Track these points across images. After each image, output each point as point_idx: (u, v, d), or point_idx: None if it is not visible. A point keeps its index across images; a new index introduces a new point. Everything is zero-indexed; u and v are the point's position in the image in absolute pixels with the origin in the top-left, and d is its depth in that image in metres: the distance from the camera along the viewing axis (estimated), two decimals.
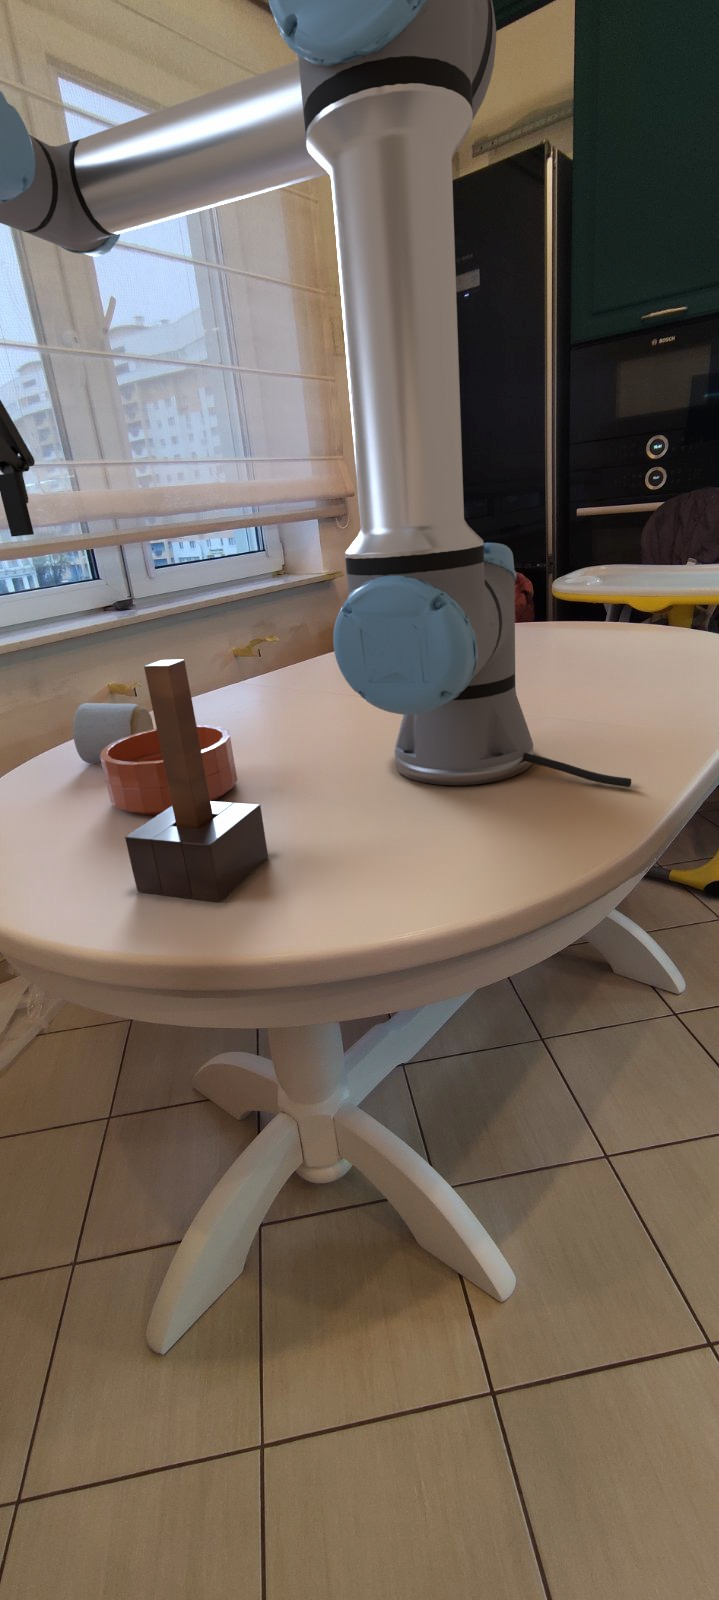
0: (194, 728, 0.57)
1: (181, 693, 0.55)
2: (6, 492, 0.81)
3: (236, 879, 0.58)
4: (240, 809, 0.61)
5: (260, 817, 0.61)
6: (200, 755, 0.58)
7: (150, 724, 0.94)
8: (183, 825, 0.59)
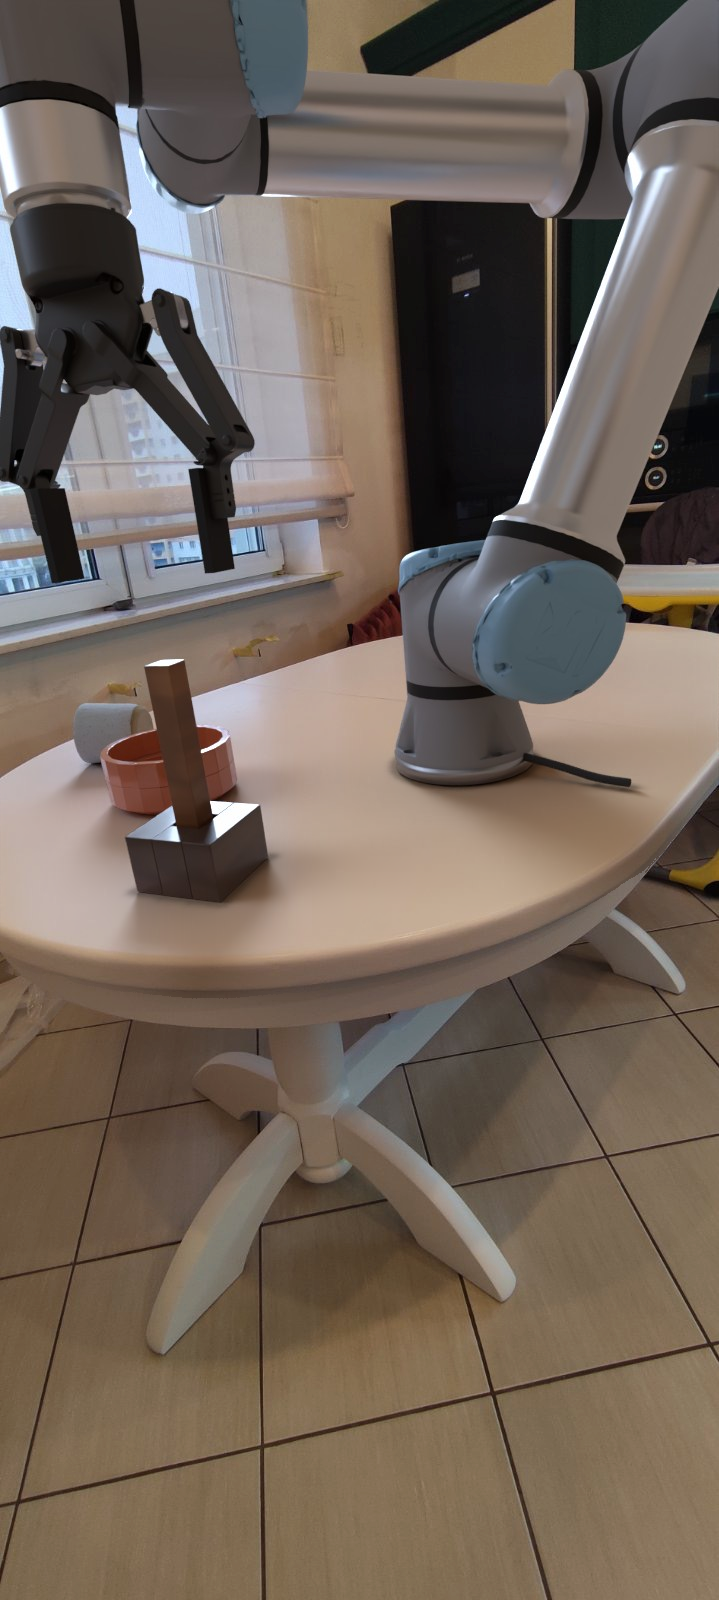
0: (194, 728, 0.57)
1: (181, 693, 0.55)
2: None
3: (236, 879, 0.58)
4: (240, 809, 0.61)
5: (260, 817, 0.61)
6: (200, 755, 0.58)
7: (150, 724, 0.94)
8: (183, 825, 0.59)
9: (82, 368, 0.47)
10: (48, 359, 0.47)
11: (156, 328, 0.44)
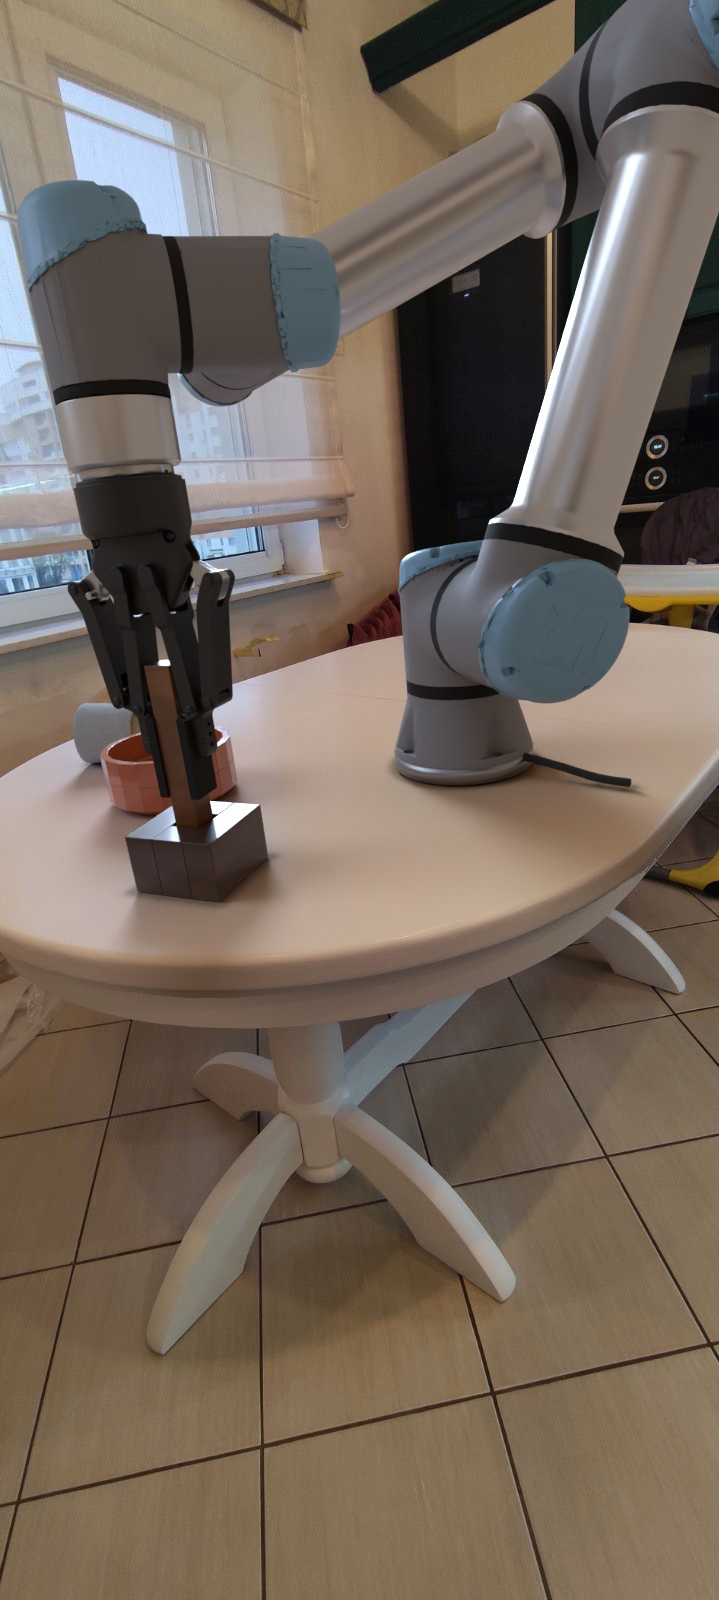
0: None
1: None
2: None
3: (236, 879, 0.58)
4: (240, 809, 0.61)
5: (260, 817, 0.61)
6: None
7: None
8: (183, 825, 0.59)
9: (135, 597, 0.52)
10: (114, 598, 0.52)
11: (196, 593, 0.50)
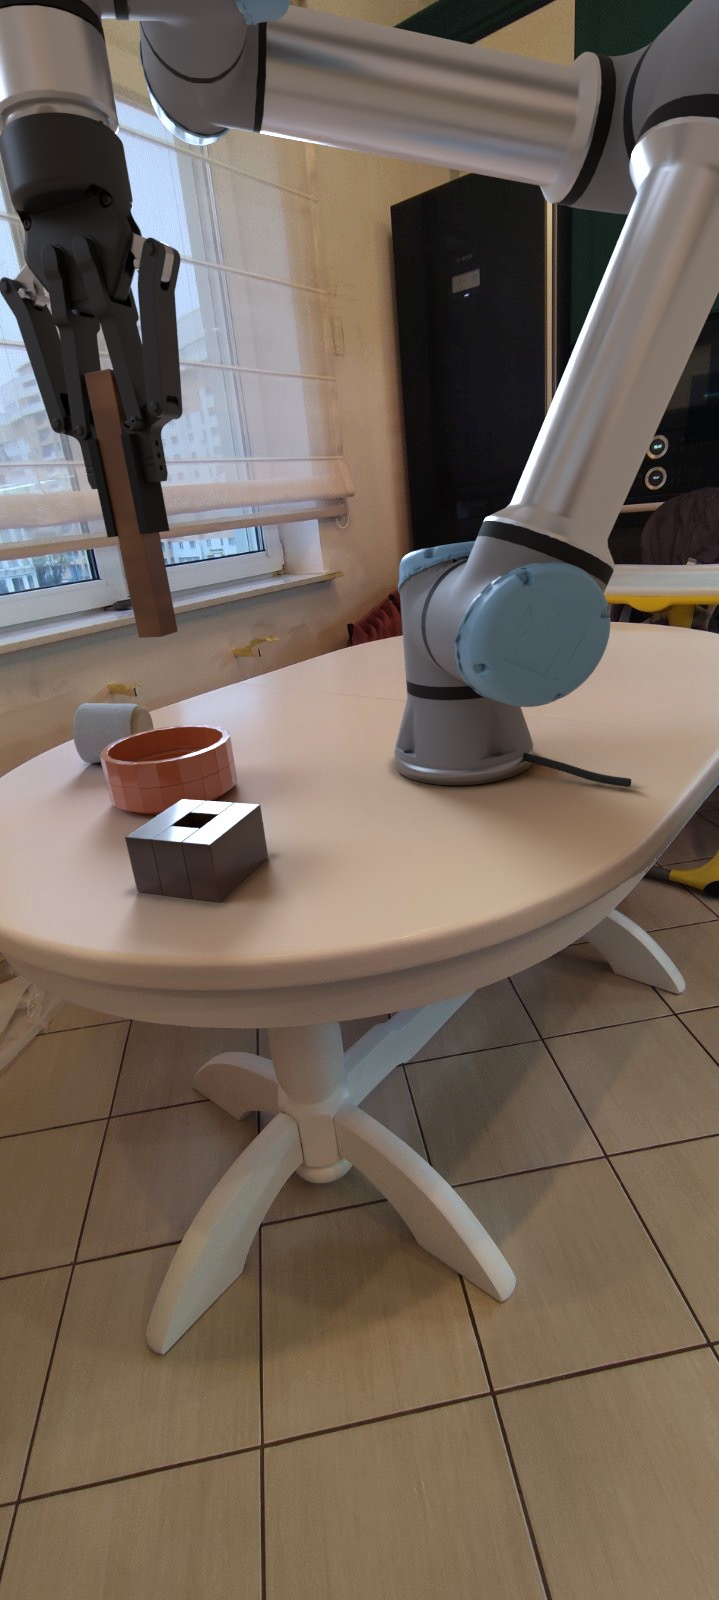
0: None
1: None
2: None
3: (236, 879, 0.58)
4: (240, 809, 0.61)
5: (260, 817, 0.61)
6: None
7: (150, 724, 0.94)
8: (132, 570, 0.54)
9: (71, 285, 0.48)
10: (49, 286, 0.47)
11: (137, 268, 0.46)
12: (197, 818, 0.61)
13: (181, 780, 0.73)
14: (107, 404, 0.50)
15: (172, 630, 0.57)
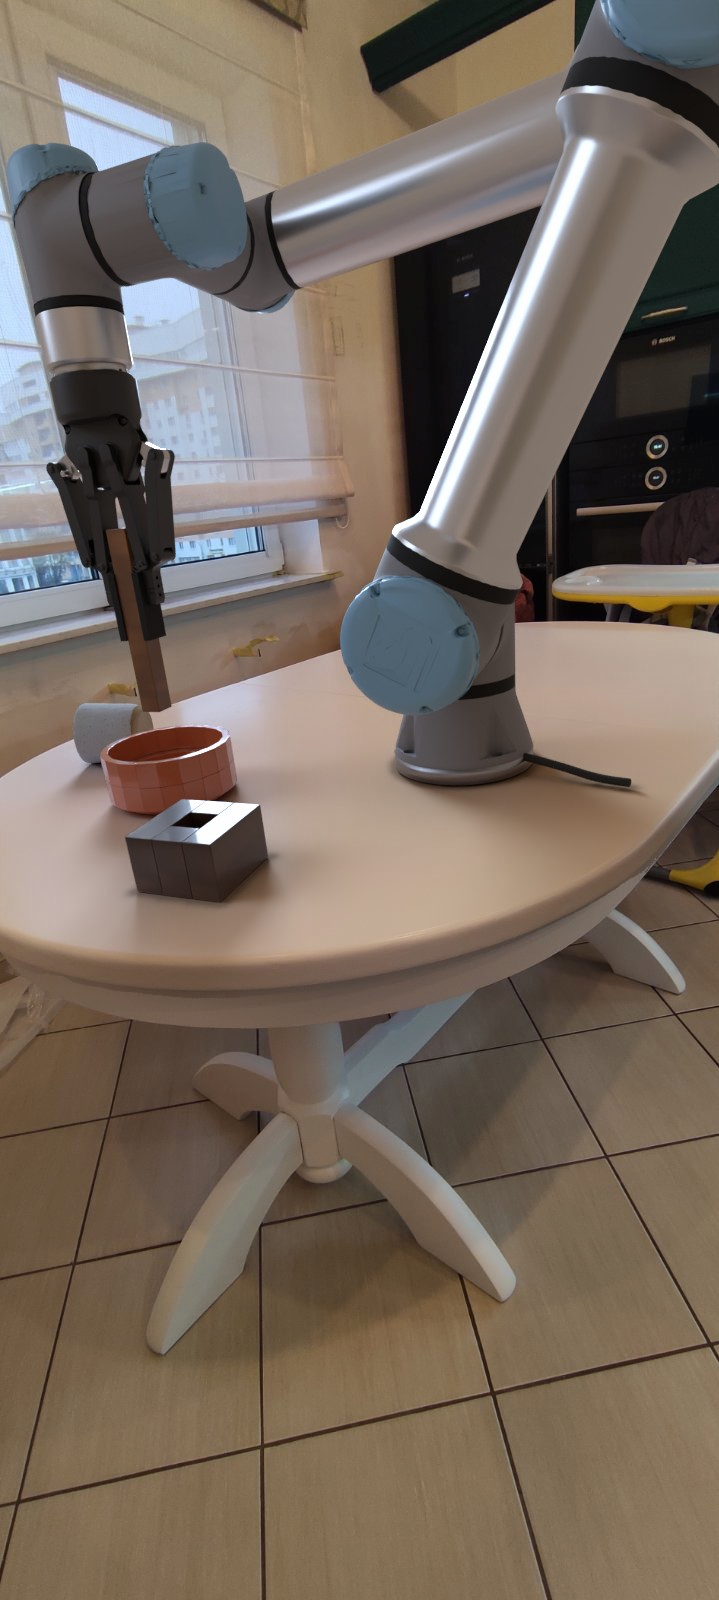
0: None
1: None
2: None
3: (236, 879, 0.58)
4: (240, 809, 0.61)
5: (260, 817, 0.61)
6: None
7: (150, 724, 0.94)
8: (138, 664, 0.74)
9: (98, 472, 0.67)
10: (82, 473, 0.67)
11: (144, 466, 0.65)
12: (197, 818, 0.61)
13: (181, 780, 0.73)
14: (121, 551, 0.69)
15: (167, 706, 0.76)
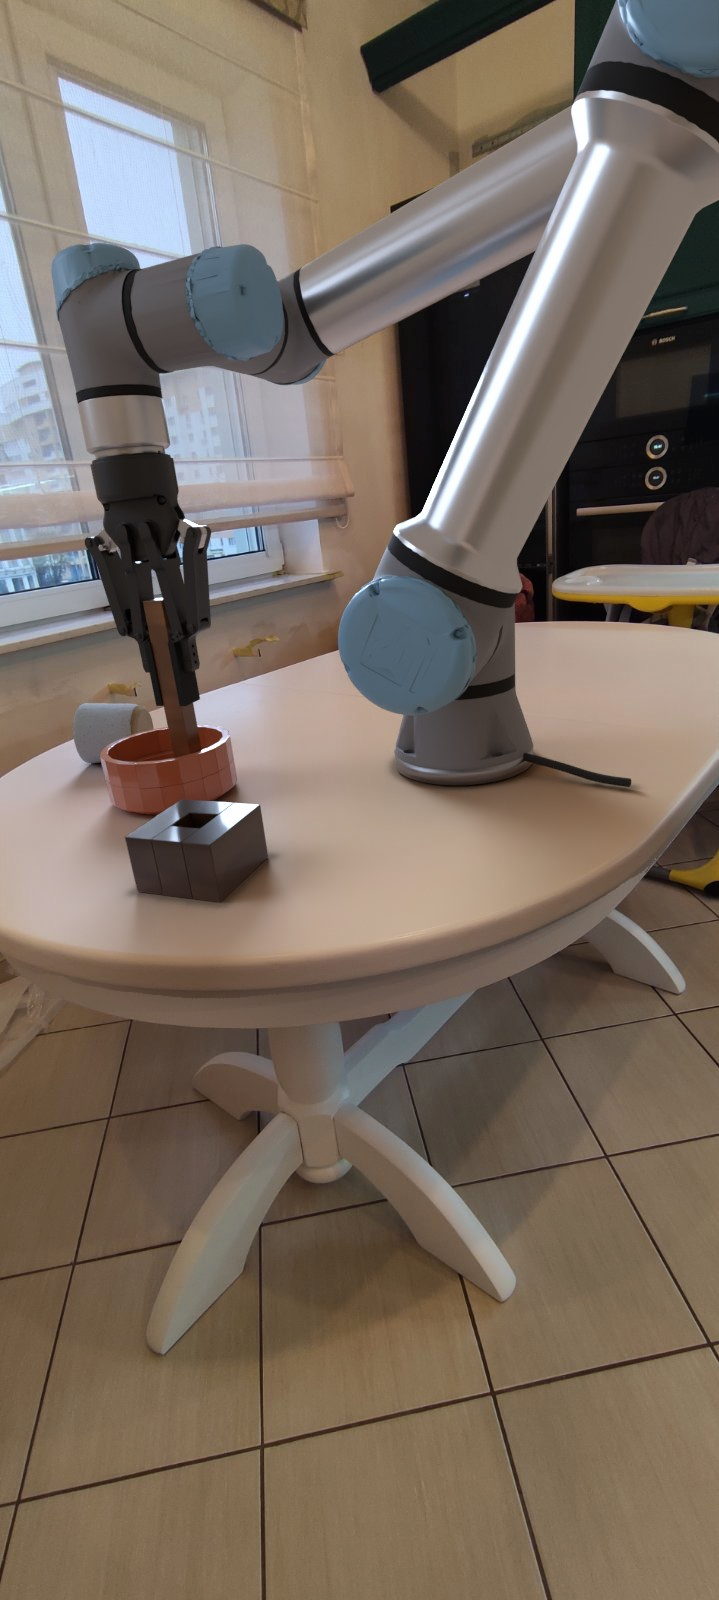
0: None
1: None
2: None
3: (236, 879, 0.58)
4: (240, 809, 0.61)
5: (260, 817, 0.61)
6: None
7: (150, 724, 0.94)
8: (173, 728, 0.76)
9: (136, 547, 0.69)
10: (120, 548, 0.69)
11: (182, 543, 0.67)
12: (197, 818, 0.61)
13: (181, 780, 0.73)
14: (158, 622, 0.71)
15: None
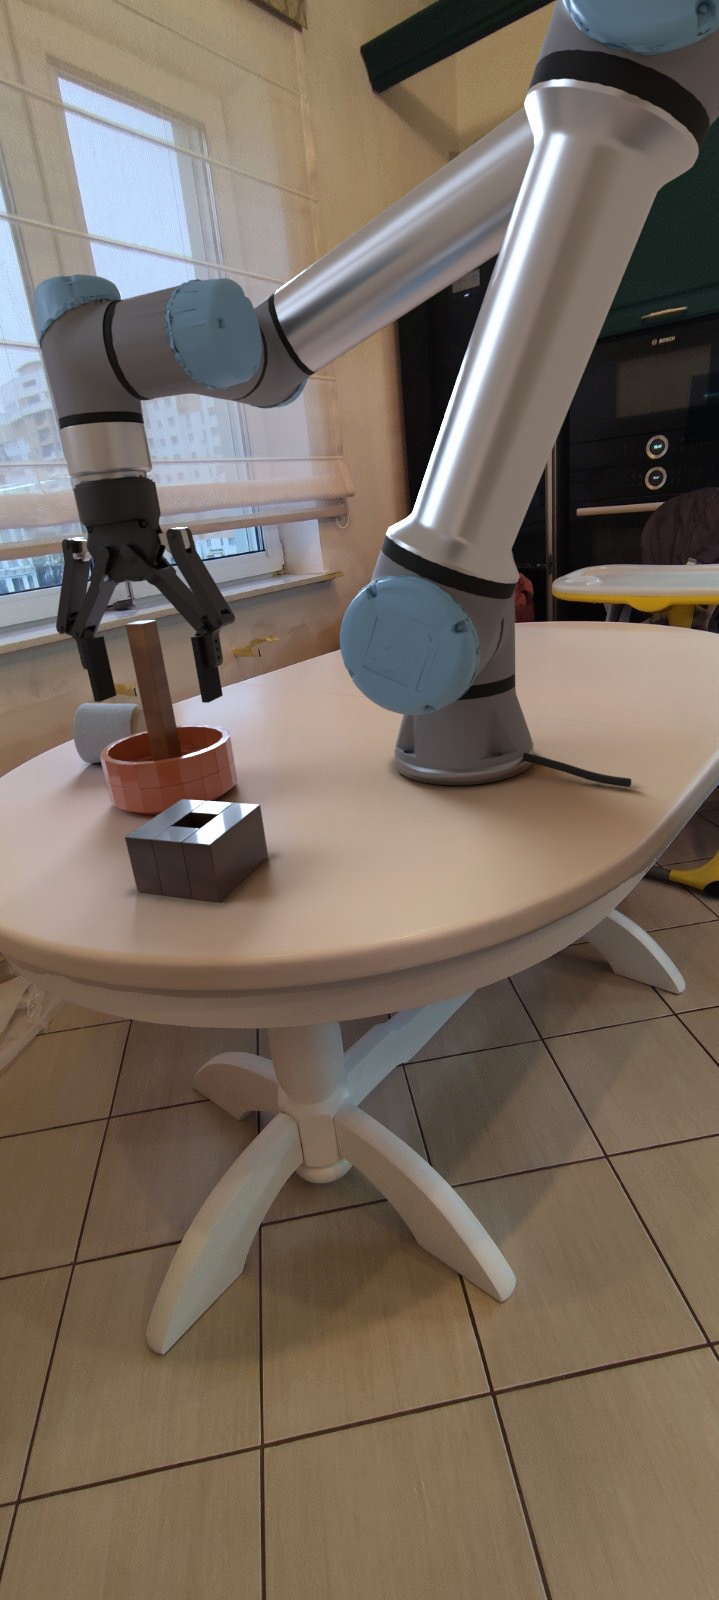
0: (164, 673, 0.75)
1: (153, 645, 0.73)
2: None
3: (236, 879, 0.58)
4: (240, 809, 0.61)
5: (260, 817, 0.61)
6: (169, 694, 0.76)
7: None
8: (156, 748, 0.77)
9: (118, 569, 0.70)
10: (96, 563, 0.70)
11: (169, 551, 0.68)
12: (197, 818, 0.61)
13: (181, 780, 0.73)
14: (140, 644, 0.73)
15: None
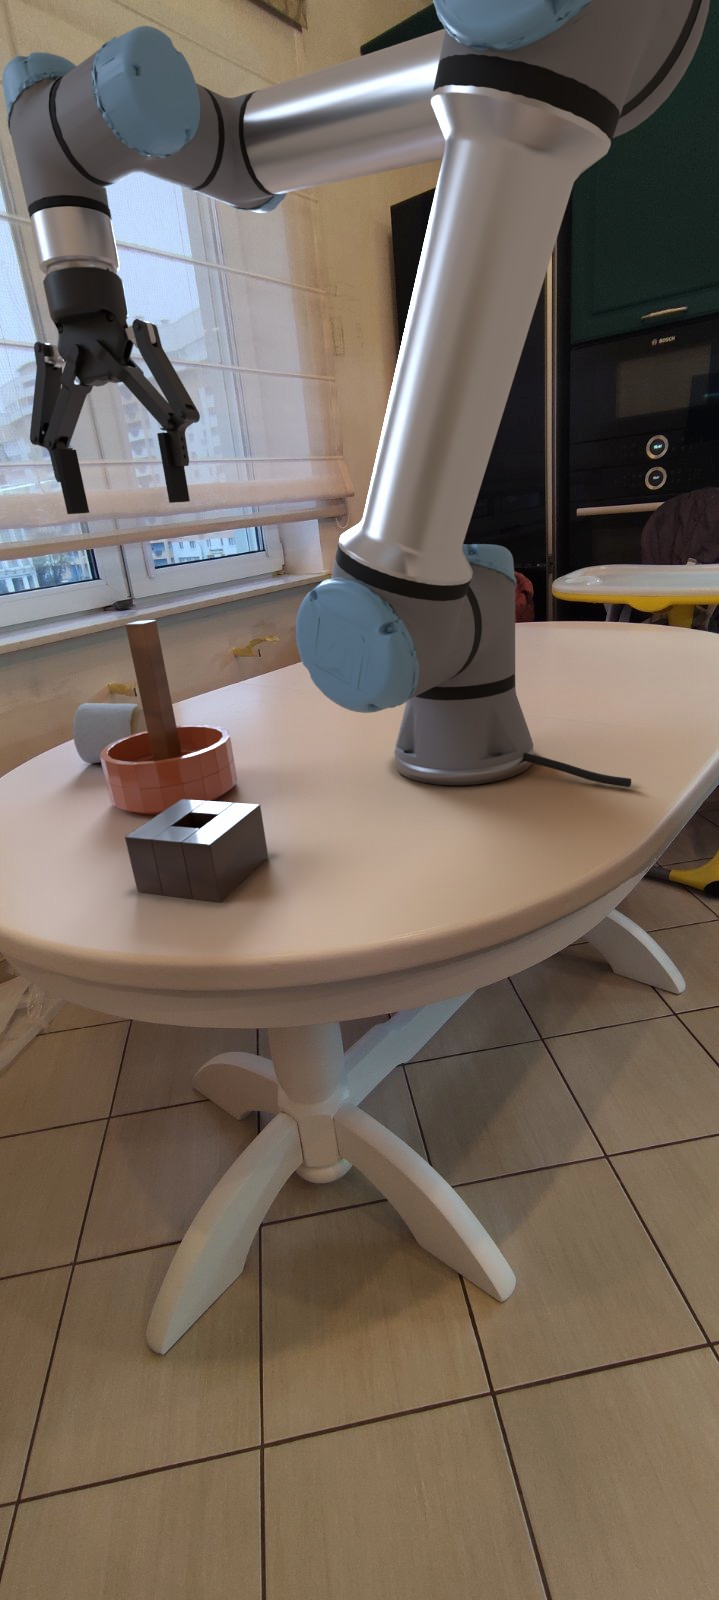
0: (164, 673, 0.75)
1: (153, 645, 0.73)
2: None
3: (236, 879, 0.58)
4: (240, 809, 0.61)
5: (260, 817, 0.61)
6: (169, 694, 0.76)
7: None
8: (156, 748, 0.77)
9: (88, 368, 0.73)
10: (66, 363, 0.73)
11: (135, 343, 0.70)
12: (197, 818, 0.61)
13: (181, 780, 0.73)
14: (140, 644, 0.73)
15: None
